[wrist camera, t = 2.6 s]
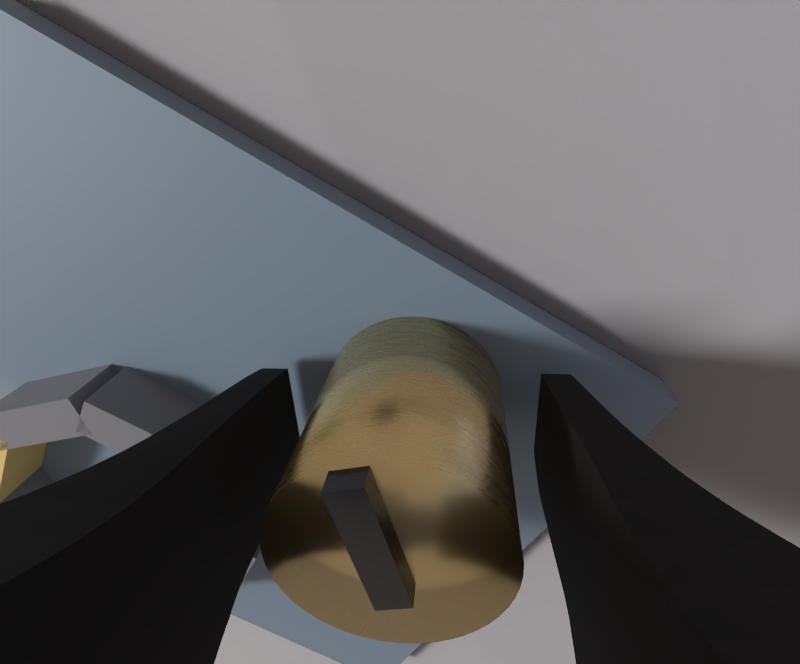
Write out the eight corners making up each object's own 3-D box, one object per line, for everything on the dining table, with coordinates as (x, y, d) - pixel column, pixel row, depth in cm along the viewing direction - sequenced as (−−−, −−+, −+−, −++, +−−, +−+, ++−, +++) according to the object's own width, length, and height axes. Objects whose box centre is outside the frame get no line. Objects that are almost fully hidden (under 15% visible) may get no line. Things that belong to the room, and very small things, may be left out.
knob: (515, 448, 12) (546, 664, 7) (360, 469, 13) (305, 673, 8) (482, 299, 10) (497, 463, 6) (306, 335, 11) (202, 502, 7)
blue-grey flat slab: (663, 380, 12) (711, 449, 9) (385, 651, 18) (374, 731, 16) (8, -5, 9) (-132, -33, 7) (-46, 455, 16) (-130, 516, 13)
